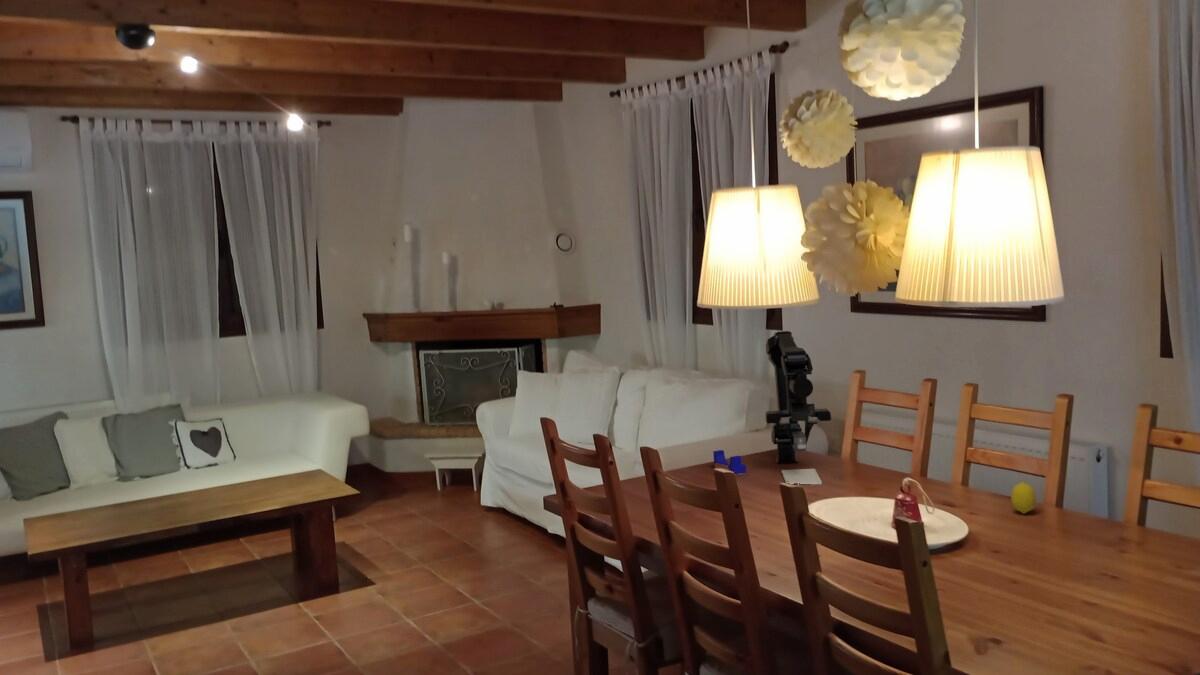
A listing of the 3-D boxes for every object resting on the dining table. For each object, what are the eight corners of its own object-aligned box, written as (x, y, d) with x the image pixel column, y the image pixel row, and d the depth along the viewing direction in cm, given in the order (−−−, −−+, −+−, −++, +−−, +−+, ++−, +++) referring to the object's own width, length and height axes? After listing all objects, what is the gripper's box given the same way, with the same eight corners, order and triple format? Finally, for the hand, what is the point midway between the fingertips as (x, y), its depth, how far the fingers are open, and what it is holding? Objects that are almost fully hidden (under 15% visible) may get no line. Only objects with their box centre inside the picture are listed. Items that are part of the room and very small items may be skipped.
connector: (796, 453, 275) (795, 440, 274) (791, 444, 287) (791, 431, 287) (808, 453, 274) (807, 439, 274) (803, 444, 287) (802, 431, 286)
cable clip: (746, 474, 291) (745, 455, 291) (733, 477, 290) (732, 457, 289) (726, 467, 303) (725, 449, 302) (714, 469, 301) (713, 451, 300)
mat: (781, 472, 290) (781, 470, 290) (814, 471, 289) (814, 468, 289) (786, 485, 275) (786, 482, 275) (821, 484, 274) (821, 481, 274)
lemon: (1022, 518, 229) (1021, 485, 228) (1006, 512, 234) (1005, 481, 234) (1041, 515, 230) (1040, 482, 230) (1025, 509, 236) (1024, 478, 235)
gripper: (766, 398, 274) (769, 451, 275) (832, 395, 272) (834, 448, 273) (764, 392, 285) (766, 443, 286) (827, 389, 283) (829, 441, 284)
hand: (799, 444), depth 282 cm, fingers closed on connector, 3 cm apart
